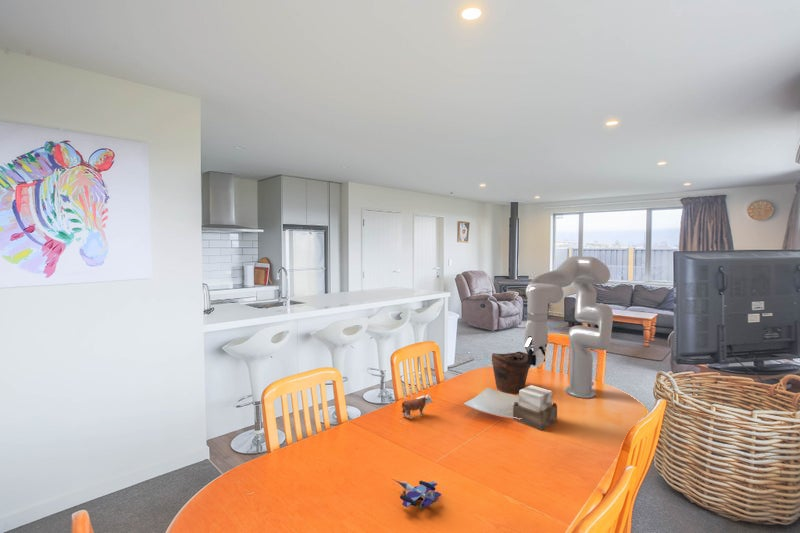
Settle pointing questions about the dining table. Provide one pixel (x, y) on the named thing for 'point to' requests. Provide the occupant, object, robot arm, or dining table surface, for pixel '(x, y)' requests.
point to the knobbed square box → (535, 407)
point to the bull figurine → (415, 405)
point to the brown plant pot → (510, 371)
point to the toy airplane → (419, 493)
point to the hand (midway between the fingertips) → (536, 362)
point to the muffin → (539, 357)
